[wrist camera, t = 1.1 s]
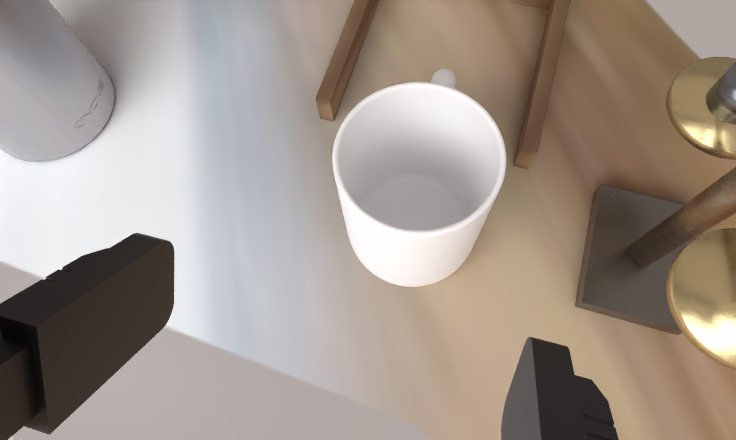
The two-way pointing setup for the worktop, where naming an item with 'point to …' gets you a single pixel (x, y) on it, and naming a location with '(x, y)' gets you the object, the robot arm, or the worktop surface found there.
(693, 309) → the balance
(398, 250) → the mug
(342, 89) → the tray frame
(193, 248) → the worktop surface
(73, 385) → the robot arm
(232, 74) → the worktop surface
